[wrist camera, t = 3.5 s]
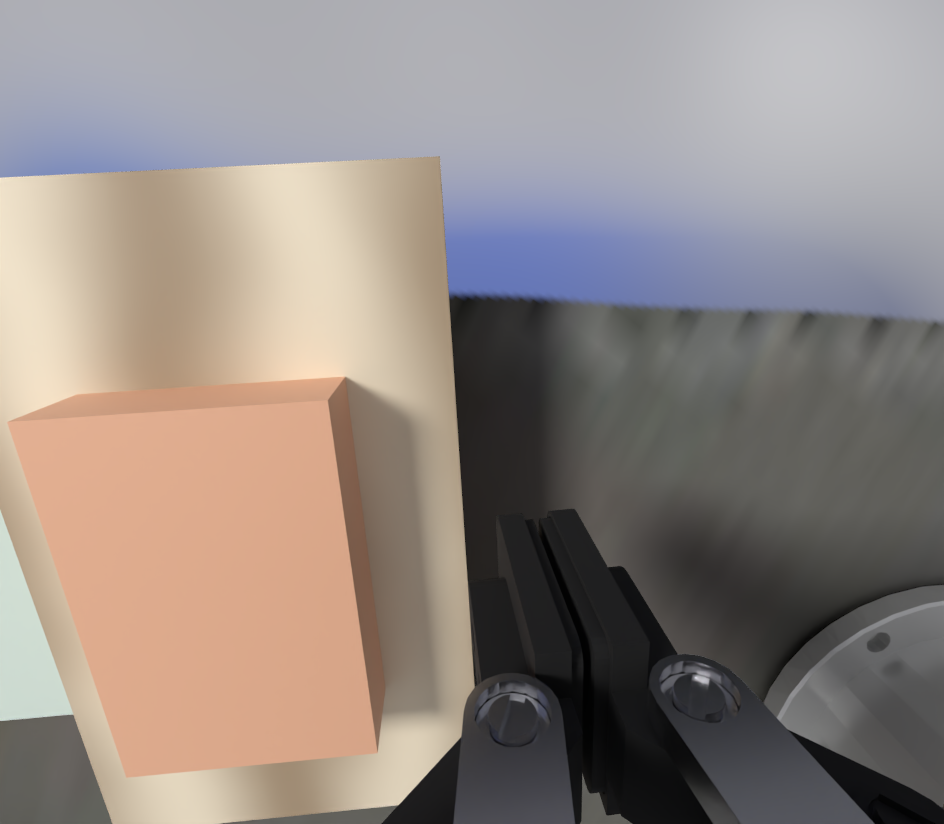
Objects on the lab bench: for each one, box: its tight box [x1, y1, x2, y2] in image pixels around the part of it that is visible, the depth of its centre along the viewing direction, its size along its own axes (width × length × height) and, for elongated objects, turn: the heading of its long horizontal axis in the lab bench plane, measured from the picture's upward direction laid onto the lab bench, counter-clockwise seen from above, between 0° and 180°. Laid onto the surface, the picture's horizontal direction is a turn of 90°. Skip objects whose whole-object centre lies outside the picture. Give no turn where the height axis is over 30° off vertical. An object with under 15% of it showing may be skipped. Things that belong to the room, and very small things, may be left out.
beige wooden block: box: [0, 157, 475, 824], centre depth 15 cm, size 11×18×4 cm, turn 3°
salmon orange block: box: [7, 377, 385, 778], centre depth 12 cm, size 9×6×2 cm, turn 3°
